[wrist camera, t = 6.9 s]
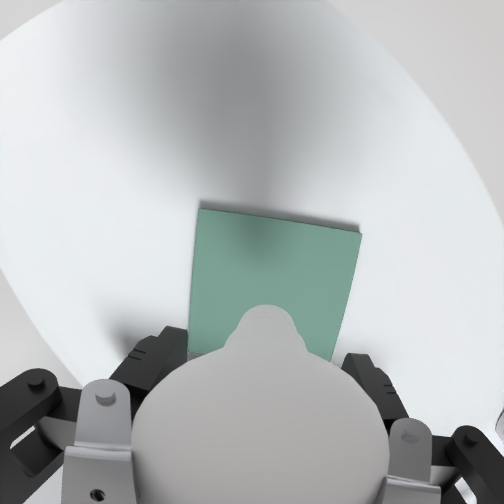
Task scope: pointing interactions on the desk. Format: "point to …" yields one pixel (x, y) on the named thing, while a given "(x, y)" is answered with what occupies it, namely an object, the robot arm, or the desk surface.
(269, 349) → the lightbulb
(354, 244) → the pad
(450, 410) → the desk surface
